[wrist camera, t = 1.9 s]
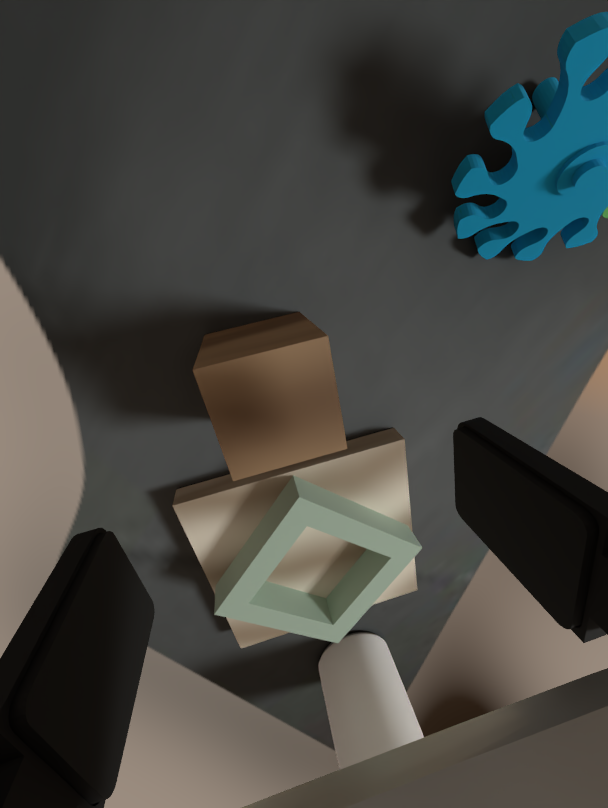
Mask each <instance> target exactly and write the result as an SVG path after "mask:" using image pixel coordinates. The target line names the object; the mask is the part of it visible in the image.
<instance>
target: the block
mask: <svg viewBox="0 0 608 808" xmlns="http://www.w3.org/2000/svg"><path fill="white" fill-rule="evenodd" d="M193 373H194V375H195V378H196V381H197V384H198V386H199V389H200V392H201V394H202V397H203V400H204V403H205V405H206V408H207V411H208V414H209V416H210V419H211V422H212V425H213V427H214V430H215V433H216V436H217V438H218V441H219V444H220V447H221V449H222V452H223V455H224V458H225V460H226V463H227V466H228V469H229V471H230V474H231V477H232V480H233V481H236V480H240V479H243V478H247V477H250V476H254V475H257V474H261V473H264V472H268V471H271V470H275V469H278V468H282V467H285V466H289V465H292V464H296V463H299V462H303V461H306V460H310V459H313V458H317V457H320V456H324V455H327V454H331V453H334V452H338V451H341V450H345V449H347V443H346V437H345V431H344V426H343V420H342V414H341V408H340V403H339V397H338V391H337V385H336V379H335V374H334V368H333V362H332V356H331V350H330V345H329V339H328V335H326V334H325V333H324V332H323V331H322V330H320V329H319V328H318V327H317V326H316V325H314V324H313V323H312V322H311V321H310V320H308V319H307V318H306V317H305V316H304V315H302V314H301V313H300V312H296V313H292V314H288V315H284V316H280V317H275V318H271V319H267V320H263V321H259V322H255V323H251V324H247V325H243V326H239V327H234V328H230V329H226V330H222V331H218V332H214V333H210V334H206V335H204V338H203V341H202V344H201V347H200V350H199V353H198V356H197V359H196V361H195V364H194V367H193Z"/></svg>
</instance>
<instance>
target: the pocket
mask: <svg viewBox="0 0 608 808" xmlns="http://www.w3.org/2000/svg"><path fill="white" fill-rule="evenodd" d="M307 526H308V527H311V528H314V529H316V530H319V531H322V532H324V533H327V534H329V535H332V536H335V537H337V538H340V539H343V540H345V541H348V542H351V543H353V544H356V545H358V546H361V547H364V548H366V551H365V552H364V553H363V554H362V555H361V557H360V558H359V559H358V560H357V561H356V563H355V564H354V565H353V566H352V567H351V569H350V570H349V571H348V572H347V573H346V575H345V576H344V577H343V578H342V579H341V581H340V582H339V583H338V584H337V586H336V587H335V588H334V589H333V590H332V592H331V593H330V594H329V595H328V596H327V598H323V597H320V596H316V595H313V594H309V593H306V592H302V591H299V590H296V589H292V588H289V587H285V586H282V585H278V584H275V583H271V582H268V581H266V580H267V579H268V577H269V576H270V575H271V573H272V572H273V571H274V569H275V568H276V567H277V565H278V564H279V563H280V561H281V560H282V559H283V557H284V556H285V555H286V553H287V552H288V551H289V549H290V548H291V547H292V545H293V544H294V543H295V541H296V540H297V539H298V537H299V536H300V535H301V533H302V532H303V531H304V529H305V528H306V527H307ZM421 549H422V546H421V545H420V543H419V542H418V540H417V539H416V537H415V536H414V534H413V533H412V531H411V530H410V528H409V526H408V525H406V524H403V523H401V522H399V521H397V520H394V519H392V518H390V517H387V516H385V515H383V514H381V513H378V512H376V511H374V510H371V509H369V508H367V507H365V506H362V505H360V504H358V503H356V502H353V501H351V500H349V499H346V498H344V497H342V496H340V495H337V494H335V493H333V492H330V491H328V490H326V489H324V488H321V487H319V486H317V485H314V484H312V483H310V482H308V481H305V480H303V479H301V478H298V477H296V476H294V475H293V476H292V478H291V479H290V480H289V482H288V483H287V485H286V486H285V488H284V489H283V490H282V492H281V493H280V495H279V496H278V498H277V499H276V500H275V502H274V503H273V505H272V506H271V507H270V509H269V510H268V512H267V513H266V515H265V516H264V517H263V519H262V520H261V522H260V523H259V525H258V526H257V527H256V529H255V530H254V532H253V533H252V534H251V536H250V537H249V539H248V540H247V542H246V543H245V544H244V546H243V547H242V549H241V550H240V551H239V553H238V554H237V556H236V557H235V559H234V560H233V561H232V563H231V564H230V566H229V567H228V569H227V570H226V571H225V573H224V574H223V576H222V577H221V578H220V580H219V581H218V583H217V584H216V588H215V608H214V615H218V616H223V617H227V618H231V619H236V620H240V621H244V622H248V623H253V624H257V625H261V626H266V627H270V628H274V629H278V630H283V631H287V632H291V633H296V634H300V635H304V636H308V637H313V638H317V639H321V640H326V641H330V642H334V643H339V642H340V641H341V640H342V638H343V637H344V636H345V635H346V634H347V633H348V632H349V631H350V629H351V628H352V627H353V626H354V625H355V624H356V623H357V621H358V620H359V619H360V618H361V617H362V616H363V615H364V614H365V612H366V611H367V610H368V609H369V608H370V607H371V606H372V604H373V603H374V602H375V601H376V600H377V599H378V598H379V597H380V595H381V594H382V593H383V592H384V591H385V590H386V589H387V587H388V586H389V585H390V584H391V583H392V582H393V581H394V580H395V578H396V577H397V576H398V575H399V574H400V573H401V572H402V570H403V569H404V568H405V567H406V566H407V565H408V564H409V563H410V561H411V560H412V559H413V558H414V557H415V556H416V555H417V553H418V552H419V551H420V550H421Z"/></svg>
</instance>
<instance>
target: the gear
mask: <svg viewBox="0 0 608 808" xmlns="http://www.w3.org/2000/svg"><path fill="white" fill-rule="evenodd" d="M557 55H558V58H559V61H560V68H561V73H560V81H559V82H558V80H557V79H556V78H554V77H551V78H547V79H546V80H544V81H542V82H541V83H540V84H539V85H538V86H537V88H536V89H535V91H534V92H533V95H532V101H533V104H534V106H535V108H536V110H537V112H538V114H539V116H540V118H541V120H540V121H539V122H538V123H536V124H535V125H533V126H531V127H529V128H525V127H526V125H527V123H528V120H529V118H530V116H531V113H532V103H531V101H530V99H529V97H528V95H527V93H526V91H525V89H524V87H523V86H522V85H521V84H518V83H517V84H516V85H514V86H512V87H511V88H509V89H508V90H507V91H505V92H504V93H503V94H502V95H501V96H500V97H499V98H498V99H496V100H495V101H494V102H493V103H492V105H491V106H490V107H489V108H488V109H487V110H486V111H485V116H484V117H485V121H486V123H487V126H488V129H489V131H490V134H491V135H492V137H493V138H495V139H497V140H502V141H504V142H506V143H508V144H510V145H511V146H512V157H511V159H510V161H509V162H508V164H507V165H506V166H505V167H503V168H502V169H500V170H499V171H496V172H488V171H487V170H486V167H485V164H484V162H483V159H482V157H481V156H480V155H478V154H470V155H467V156H466V157H465V158H464V159H463V160H462V162H461V163H460V165H459V166H458V168H457V170H456V172H455V174H454V176H453V178H452V180H451V183H452V186H453V189H454V193H455V195H456V196H457V197H459V198H468V197H471V196H474V195H480V194H492V195H496V196H498V197H500V198H499V199H498V200H497V201H496V202H495V203H494V204H492V205H490V206H486V207H482V206H479V205H477V204H475V203H465V204H462V205H460V206H458V207H457V208H456V210H455V213H454V226H455V229H456V233H457V236H458V238H459V239H463V238H467V237H470V236H472V235H473V234H475V233H476V232H478V231H480V230H482V229H484V228H486V227H488V226H491V225H494V224H498V223H503V222H508V223H507V224H505V225H503V226H501V227H494V228H488V229H485V230H483V231H481V232H479V233H478V234H477V235H476V236H475V237H474V239H475V243H476V246H477V249H478V252H479V254H480V255H481V256H482V257H483V258H485V259H486V260H487V259H490V258H492V257H494V256H496V255H497V254H498V253H500V252H501V250H502V249H503V248H504V247H506V246H507V245H508V244H509V243H510V242H512V241H513V240H515V239H516V238H517V239H516V240H515V241H514V242H513V243H512V245H511V249H512V251H513V254H514V257H515V258H516V259H518V260H524V261H532V260H534V259H536V258H537V257H538V256H539V255H540V254H541V253H542V252H543V250H544V247H545V246H546V244H547V243H548V241H549V240H550V239H551V238H552V237H553V236H554V235H555V234H556V233H557V232H559V231H560V230H561V229H562V228H563V230H562V231H561V237H562V239H563V241H564V244H565V246H566V248H572V247H577V246H580V245H584V244H587V243H590V242H592V241H593V240H594V239H595V238H596V237H597V235H598V231H597V222H598V220H599V218H600V216H601V214H602V215H603V217H605V218H608V68H607V69H606V70H605V71H604V72H603V73H602V74H601V75H600V76H599V77H598V78H597V79H596V80H594V81H593V82H592V83H590V84H588V85H586V86H583V85H584V83H585V81H586V80H587V79H588V77H589V76H590V75H591V74H592V73H593V72H594V71H595V70H596V69H597V68H598V67H599V66H600V65H601V64H602V62H603V61H604V60H605V59H606V58H607V57H608V12H602V13H598V14H595V15H592V16H590V17H587V18H585V19H583V20H581V21H579V22H577V23H576V24H574V25H572V26H570V27H568V28H567V29H566V30H565V32H564V34H563V35H562V37H561V39H560V42H559V45H558V49H557Z"/></svg>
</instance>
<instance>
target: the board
mask: <svg viewBox="0 0 608 808" xmlns="http://www.w3.org/2000/svg"><path fill="white" fill-rule="evenodd" d="M346 443H347V449H345V450H341V451H338V452H334V453H331V454H327V455H324V456H320V457H317V458H313V459H310V460H306V461H303V462H299V463H296V464H292V465H289V466H285V467H282V468H278V469H275V470H271V471H268V472H264V473H261V474H257V475H254V476H250V477H247V478H243V479H240V480H236V481H233V480H232V477H231V474H229V475H225V476H222V477H218V478H214V479H211V480H207V481H204V482H200V483H197V484H193V485H190V486H186V487H183V488H179V489H176V493H175V497H174V501H173V505H172V506H173V508H174V510H175V512H176V514H177V516H178V518H179V520H180V523H181V525H182V527H183V529H184V531H185V533H186V535H187V537H188V539H189V541H190V543H191V545H192V548H193V550H194V552H195V554H196V556H197V558H198V560H199V562H200V564H201V566H202V568H203V570H204V572H205V575H206V577H207V579H208V581H209V583H210V585H211V587H212V589H213V591H214V593H215V588H216V584H217V583H218V581H219V580H220V578H221V577H222V576H223V574H224V573H225V571H226V570H227V569H228V567H229V566H230V564H231V563H232V561H233V560H234V559H235V557H236V556H237V554H238V553H239V551H240V550H241V549H242V547H243V546H244V544H245V543H246V542H247V540H248V539H249V537H250V536H251V534H252V533H253V532H254V530H255V529H256V527H257V526H258V525H259V523H260V522H261V520H262V519H263V517H264V516H265V515H266V513H267V512H268V510H269V509H270V507H271V506H272V505H273V503H274V502H275V500H276V499H277V498H278V496H279V495H280V493H281V492H282V490H283V489H284V488H285V486H286V485H287V483H288V482H289V480H290V479H291V478H292V476H293V475H294V476H296V477H298V478H301V479H303V480H305V481H308V482H310V483H312V484H314V485H317V486H319V487H321V488H324V489H326V490H328V491H330V492H333V493H335V494H337V495H340V496H342V497H344V498H346V499H349V500H351V501H353V502H356V503H358V504H360V505H362V506H365V507H367V508H369V509H371V510H374V511H376V512H378V513H381V514H383V515H385V516H387V517H390V518H392V519H394V520H397V521H399V522H401V523H403V524H406V525H408V526H409V528H410V530H411V531H412V523H411V511H410V499H409V487H408V476H407V464H406V452H405V440H404V438H403V437H402V436H401V435H400V434H399V433H398V432H397V431H396V430H395V429H394V428H391V429H388V430H384V431H381V432H377V433H373V434H370V435H366V436H363V437H359V438H356V439H352V440H349V441H346ZM365 551H366V548H364V547H361V546H358V545H356V544H353V543H351V542H348V541H345V540H343V539H340V538H337V537H335V536H332V535H329V534H327V533H324V532H322V531H319V530H316V529H314V528H311V527H308V526H307V527H306V528H305V529H304V531H303V532H302V533H301V535H300V536H299V537H298V539H297V540H296V541H295V543H294V544H293V545H292V547H291V548H290V549H289V551H288V552H287V553H286V555H285V556H284V557H283V559H282V560H281V561H280V563H279V564H278V565H277V567H276V568H275V569H274V571H273V572H272V573H271V575H270V576H269V577H268V579H267V580H266V581H268V582H271V583H275V584H278V585H282V586H285V587H289V588H292V589H296V590H299V591H302V592H306V593H309V594H313V595H316V596H320V597H323V598H327V596H328V595H329V594H330V593H331V592H332V590H333V589H334V588H335V587H336V586H337V584H338V583H339V582H340V581H341V579H342V578H343V577H344V576H345V575H346V573H347V572H348V571H349V570H350V569H351V567H352V566H353V565H354V564H355V563H356V561H357V560H358V559H359V558H360V557H361V555H362V554H363V553H364V552H365ZM416 590H417V582H416V570H415V558H413V559H412V560H411V561H410V563H409V564H408V565H407V566H406V567H405V568H404V569H403V570H402V572H401V573H400V574H399V575H398V576H397V577H396V578H395V580H394V581H393V582H392V583H391V584H390V585H389V586H388V587H387V589H386V590H385V591H384V592H383V593H382V594H381V595H380V597H379V598H378V599H377V600H376V601H375V602H374V603H373V604H372V605H374V604H377V603H380V602H383V601H386V600H389V599H392V598H395V597H398V596H401V595H404V594H407V593H410V592H413V591H416ZM226 618H227V617H226ZM227 620H228V622H229V625H230V627H231V629H232V631H233V633H234V635H235V637H236V639H237V641H238V643H239V645H240V647H241V648H244V647H247V646H250V645H253V644H256V643H259V642H262V641H265V640H268V639H271V638H274V637H277V636H280V635H283V634H286V633H289V632H287V631H283V630H278V629H274V628H270V627H266V626H261V625H257V624H253V623H248V622H244V621H240V620H236V619H231V618H227Z"/></svg>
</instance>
